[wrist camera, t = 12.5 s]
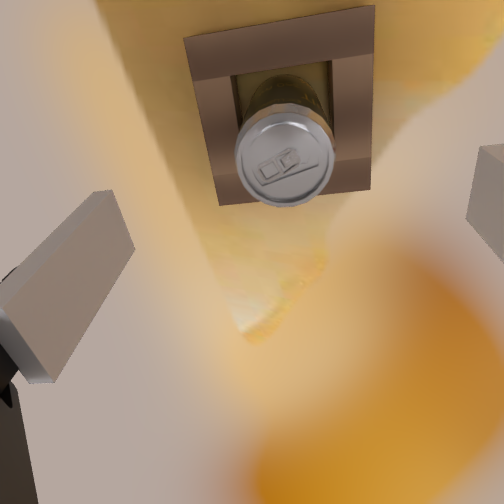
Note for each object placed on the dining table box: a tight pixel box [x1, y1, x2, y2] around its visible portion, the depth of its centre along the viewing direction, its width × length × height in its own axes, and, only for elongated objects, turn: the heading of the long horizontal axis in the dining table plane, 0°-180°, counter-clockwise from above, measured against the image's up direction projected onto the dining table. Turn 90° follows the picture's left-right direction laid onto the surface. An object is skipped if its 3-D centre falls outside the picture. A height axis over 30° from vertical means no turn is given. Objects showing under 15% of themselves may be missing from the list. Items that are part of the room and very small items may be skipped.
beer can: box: [234, 75, 336, 207], centre depth 23 cm, size 5×5×12 cm
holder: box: [183, 5, 375, 206], centre depth 27 cm, size 12×12×3 cm
